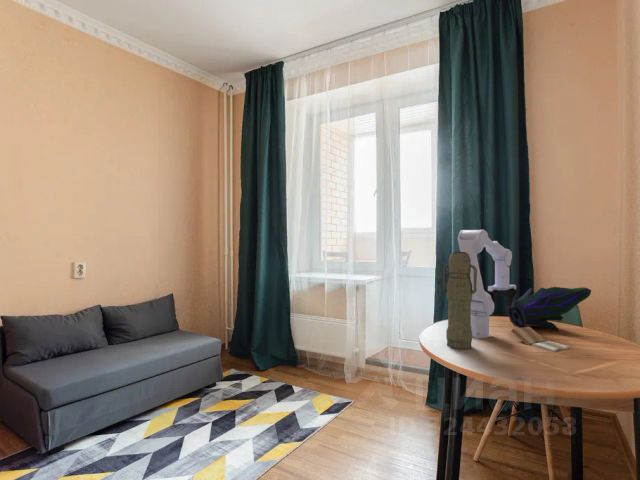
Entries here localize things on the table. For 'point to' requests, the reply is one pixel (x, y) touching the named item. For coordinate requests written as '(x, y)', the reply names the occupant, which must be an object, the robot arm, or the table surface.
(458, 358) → the table surface
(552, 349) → the laid board
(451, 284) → the thermos
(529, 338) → the plank
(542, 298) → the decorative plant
